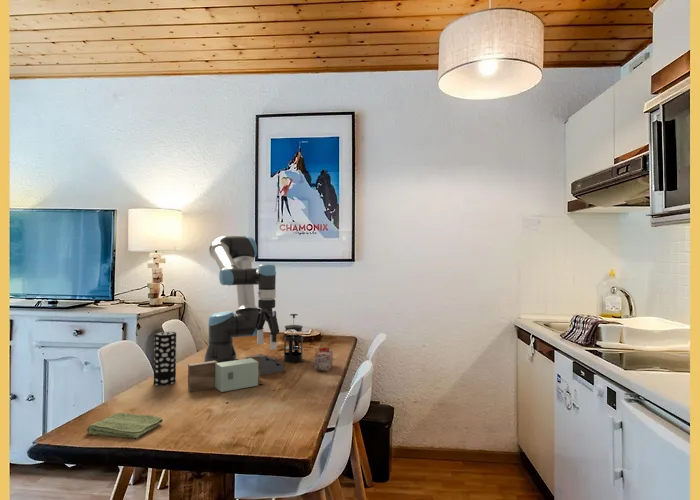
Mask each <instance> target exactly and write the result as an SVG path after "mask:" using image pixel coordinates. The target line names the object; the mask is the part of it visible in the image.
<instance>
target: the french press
mask: <svg viewBox="0 0 700 500" xmlns="http://www.w3.org/2000/svg"><path fill="white" fill-rule="evenodd" d="M298 315H299V314H298V313H290V314H289V316H290V317H291V316H292V319H293V320H292V321H293V324H287V325H285V326H284V328H285V329H284V330H285V332H287V331H288V330H290V331H291V330H292V333H293V334H286V335H284V337H283V338H284V342H283V343H284V346H283V347H284V351H283V352H284V353H283V354H284V355H283V361H284V362H285V363H289V364H292V363H293V364H294V363H295V364H296V363H300V362H304V361H303V340H304V339H303V338H304V337H303V335H301V334H295V331H296V332H297V333H300V332H302V330H303V325H299V324H295V318H296V316H298ZM287 341H288V345H287ZM299 350H300V351H299Z"/></svg>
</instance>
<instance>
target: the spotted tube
mask: <svg viewBox="0 0 700 500" xmlns="http://www.w3.org/2000/svg"><path fill="white" fill-rule="evenodd" d="M153 340H154V341H153V345H154V346H153V385H154V386H161V387H162V386H163V387H164V386H170V385H172V384H175V383H176V382H177V381H176V380H177V372H176V371H177V332H175V331H160V332H155V333H154V337H153Z"/></svg>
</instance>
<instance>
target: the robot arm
mask: <svg viewBox="0 0 700 500" xmlns="http://www.w3.org/2000/svg"><path fill="white" fill-rule="evenodd" d="M208 250H209V254H210V255H209V256H210V257H211V258H212V259H213V260H214V261H215V262H216V264H217V266H218V267H219V275H218V277H219V279H218V280H219V283H220V285H222V286H229V287H230V286H236V292H237V293H236V294H237V304H238V305H237V306H238V308H237V309H236V310H235V313H234V312H233V311H232V310H228V311H225V310H224V311H218V312H215V313H212V314H211V315H209V317H208V324H207V326H208V341H207V342H208V344H207V347H206V350H205V352H204V353H205V354H204V361H203V362H208V361H217V362H218V363H220V362H227V361H235V360H237V353H236V350H235V346H234V339H235V338H243V337H244V338H245V337H246V338H247V337H250V338H251V337H256V345H264V326H265V323H267V324H268V328H269V331H270V333H269V350H271V351H272V350H277V337H278V336H277V334H280V329H279V323H278V319H277V312H276V310H273V309H274V308H276V300H275V298H276V291H277V290H276V281H277V280H276V276H277V275H276V274H277V270H276V265H275V264H259V265H258V267H257V268H256V267H255V268H253V265H252V263H253V262H254V261H255V258H256V257H257V255H258V254H257V253H258V246H257V243H256V240H255V239H254V238H253V237H251V236H246V235H242V236H239V235H222V236H220V237H217V238H215V239H214V240H212V242H211V244H210V245H209V249H208ZM255 285H258V288H257V289H258V291H257V294H258V300H257V306H256V298H255V296H256V295H255V288H254V287H255Z"/></svg>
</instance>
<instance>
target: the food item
mask: <svg viewBox="0 0 700 500" xmlns="http://www.w3.org/2000/svg"><path fill="white" fill-rule="evenodd" d="M313 360H314V369H315V370H316V372H325V373H326V372H329V373H330V371H331V369H332V365H333V349H331V348H329V347H326V346H324V347H322V348H320V347H318V351H317V353H315V354H314V359H313Z"/></svg>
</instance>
